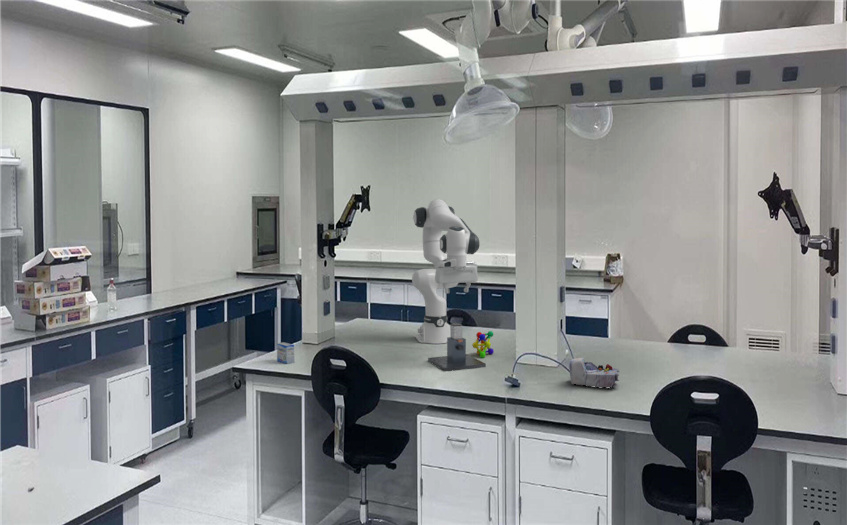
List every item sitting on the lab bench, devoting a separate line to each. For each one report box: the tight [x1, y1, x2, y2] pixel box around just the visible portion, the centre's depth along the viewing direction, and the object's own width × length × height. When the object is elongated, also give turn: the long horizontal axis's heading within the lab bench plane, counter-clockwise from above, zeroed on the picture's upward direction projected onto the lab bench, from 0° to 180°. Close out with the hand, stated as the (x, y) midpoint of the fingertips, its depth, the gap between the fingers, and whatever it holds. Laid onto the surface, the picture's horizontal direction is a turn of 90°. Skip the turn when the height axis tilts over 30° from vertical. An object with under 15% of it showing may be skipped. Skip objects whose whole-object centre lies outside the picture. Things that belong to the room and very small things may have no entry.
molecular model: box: [472, 330, 495, 359], centre depth 320 cm, size 12×7×12 cm, turn 145°
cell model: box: [568, 357, 620, 388], centre depth 270 cm, size 13×11×20 cm
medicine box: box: [276, 341, 295, 365], centre depth 309 cm, size 8×4×9 cm, turn 47°
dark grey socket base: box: [427, 336, 487, 372], centre depth 304 cm, size 20×20×12 cm
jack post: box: [450, 322, 463, 340], centre depth 304 cm, size 4×4×17 cm
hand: (456, 292), depth 302 cm, fingers open, 8 cm apart
